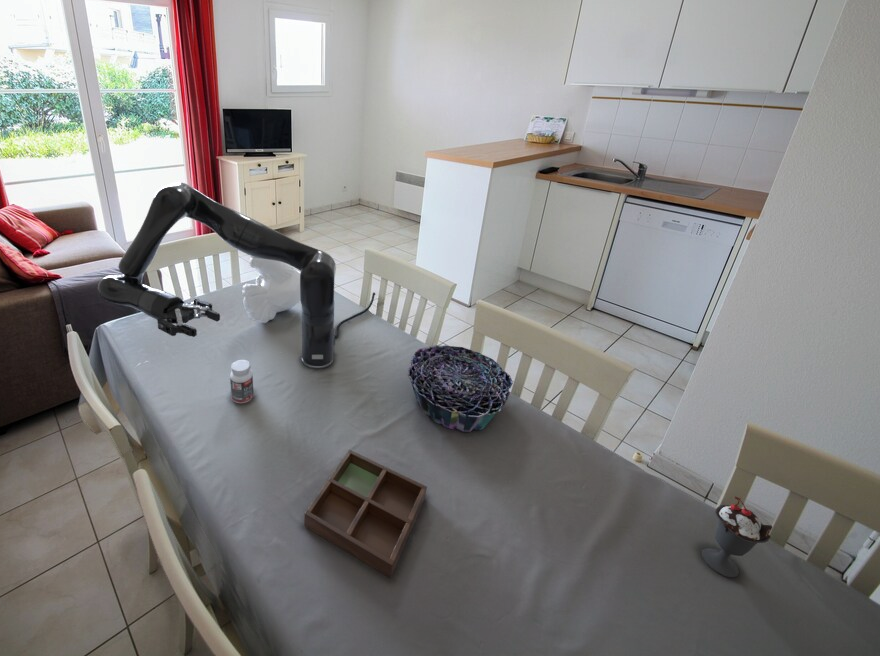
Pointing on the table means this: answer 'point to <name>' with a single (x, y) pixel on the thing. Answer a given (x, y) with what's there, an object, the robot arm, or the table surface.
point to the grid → (367, 511)
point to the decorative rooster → (271, 289)
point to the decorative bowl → (458, 386)
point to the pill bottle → (241, 382)
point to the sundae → (734, 537)
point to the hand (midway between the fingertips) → (207, 325)
